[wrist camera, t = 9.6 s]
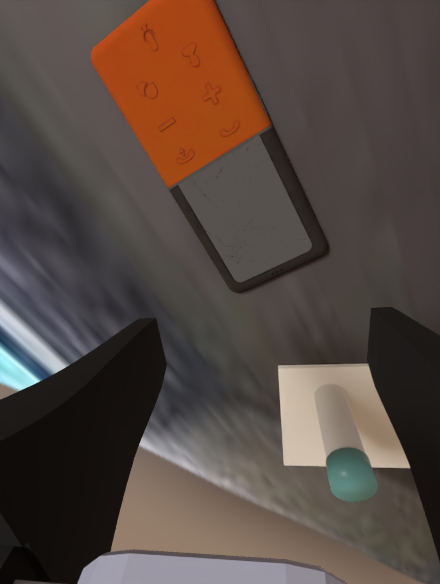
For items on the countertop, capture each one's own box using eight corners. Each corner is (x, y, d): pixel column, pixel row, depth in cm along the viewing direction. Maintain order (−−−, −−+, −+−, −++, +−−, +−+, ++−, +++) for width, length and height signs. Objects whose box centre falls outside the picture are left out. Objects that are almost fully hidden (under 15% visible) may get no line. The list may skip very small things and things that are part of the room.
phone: (193, -45, 15) (332, 253, 20) (199, -33, 16) (329, 246, 21) (80, 52, 17) (232, 299, 22) (93, 56, 18) (234, 290, 23)
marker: (346, 381, 24) (377, 470, 18) (347, 407, 25) (377, 501, 19) (311, 383, 24) (329, 471, 18) (313, 409, 25) (331, 502, 19)
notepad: (499, 360, 22) (502, 363, 22) (469, 466, 26) (471, 469, 26) (278, 365, 24) (278, 368, 24) (283, 462, 29) (284, 465, 28)
